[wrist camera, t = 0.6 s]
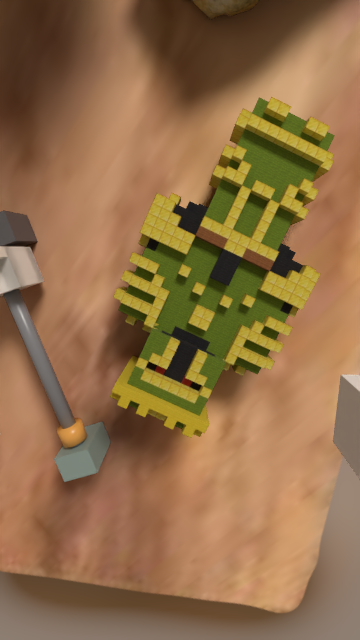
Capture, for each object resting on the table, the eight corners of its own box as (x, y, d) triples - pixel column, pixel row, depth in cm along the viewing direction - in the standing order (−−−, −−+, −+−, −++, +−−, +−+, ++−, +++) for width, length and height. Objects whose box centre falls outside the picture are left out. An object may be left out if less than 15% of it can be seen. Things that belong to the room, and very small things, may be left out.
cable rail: (-21, 233, 38) (-61, 229, 32) (26, 215, 37) (-5, 208, 31) (75, 452, 43) (56, 484, 37) (118, 439, 42) (105, 470, 37)
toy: (401, 147, 27) (236, 458, 31) (341, 181, 37) (223, 412, 41) (214, 51, 26) (69, 383, 30) (205, 113, 36) (98, 355, 40)
